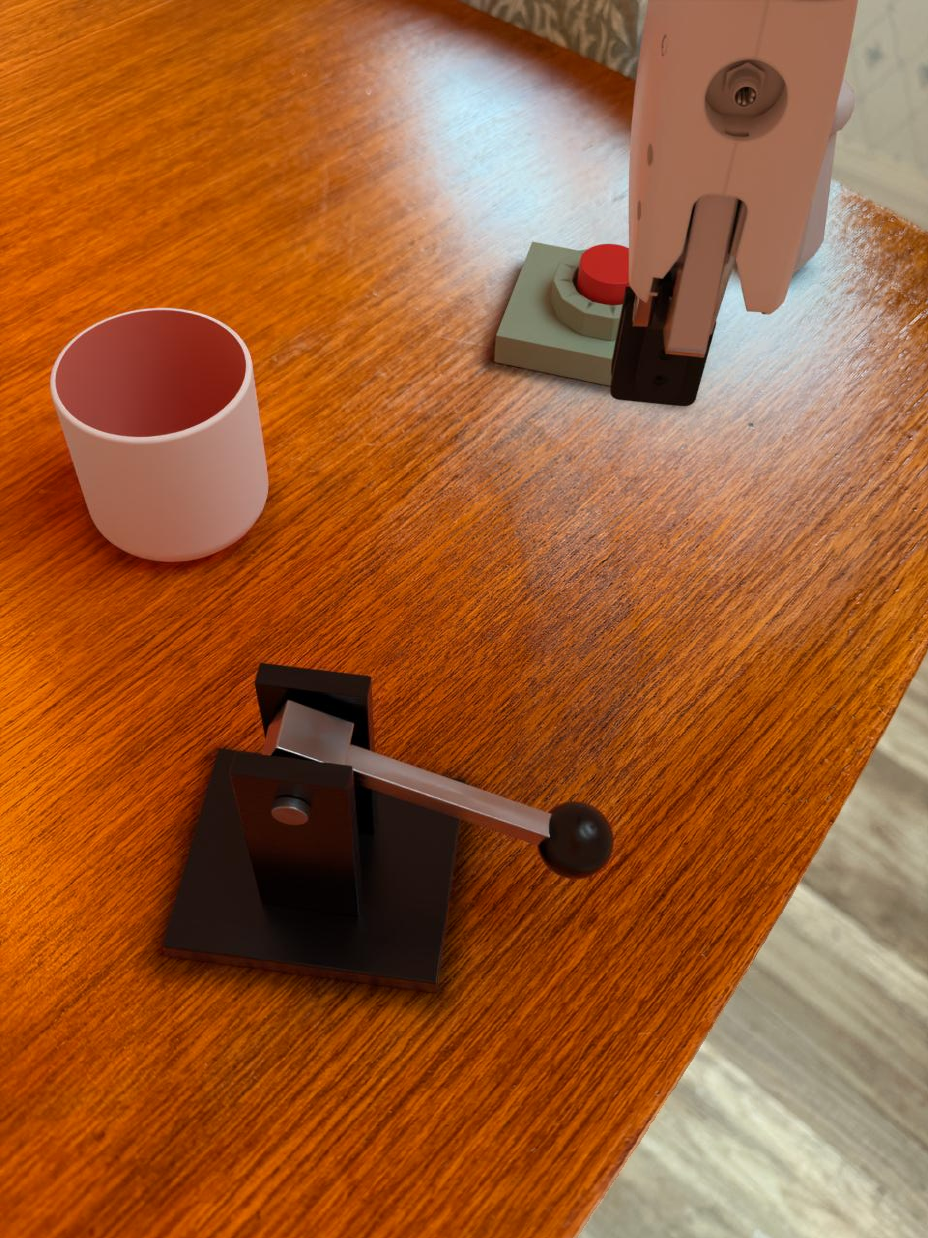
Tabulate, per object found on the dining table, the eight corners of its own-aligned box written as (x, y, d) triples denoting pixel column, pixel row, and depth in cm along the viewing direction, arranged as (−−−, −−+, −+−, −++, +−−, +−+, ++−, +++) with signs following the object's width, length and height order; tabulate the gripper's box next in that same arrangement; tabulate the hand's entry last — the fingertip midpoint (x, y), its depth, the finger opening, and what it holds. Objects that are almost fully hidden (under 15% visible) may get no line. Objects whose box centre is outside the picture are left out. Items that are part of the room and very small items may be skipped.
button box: (702, 302, 81) (715, 252, 77) (679, 400, 75) (691, 351, 72) (529, 268, 82) (534, 217, 79) (493, 362, 76) (497, 311, 73)
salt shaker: (722, 275, 82) (767, 96, 72) (738, 227, 86) (783, 50, 75) (807, 294, 82) (864, 116, 71) (820, 246, 85) (877, 68, 74)
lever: (591, 831, 52) (630, 803, 50) (586, 899, 50) (626, 873, 48) (268, 719, 48) (293, 682, 46) (249, 789, 46) (275, 754, 44)
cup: (93, 584, 65) (48, 452, 57) (91, 452, 70) (49, 316, 62) (279, 560, 66) (261, 428, 58) (261, 433, 72) (242, 297, 64)
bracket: (465, 790, 58) (476, 635, 48) (437, 993, 52) (443, 866, 42) (221, 759, 58) (180, 599, 48) (165, 957, 53) (105, 822, 42)
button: (645, 273, 77) (649, 250, 75) (634, 312, 74) (638, 288, 73) (583, 261, 77) (587, 238, 76) (571, 299, 75) (574, 276, 73)
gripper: (963, 16, 26) (759, 549, 41) (885, -239, 35) (741, 275, 50) (623, -16, 27) (542, 526, 41) (631, -262, 35) (562, 257, 50)
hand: (651, 387), depth 46 cm, fingers closed
